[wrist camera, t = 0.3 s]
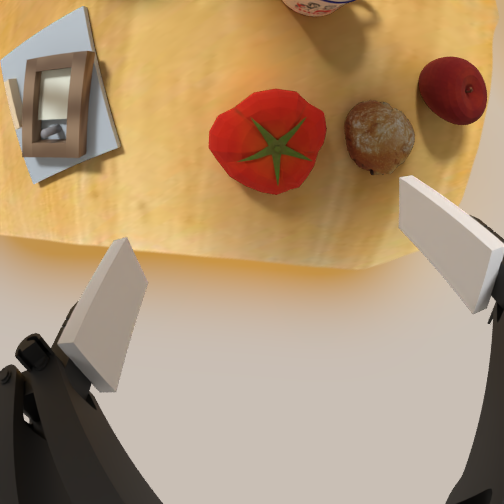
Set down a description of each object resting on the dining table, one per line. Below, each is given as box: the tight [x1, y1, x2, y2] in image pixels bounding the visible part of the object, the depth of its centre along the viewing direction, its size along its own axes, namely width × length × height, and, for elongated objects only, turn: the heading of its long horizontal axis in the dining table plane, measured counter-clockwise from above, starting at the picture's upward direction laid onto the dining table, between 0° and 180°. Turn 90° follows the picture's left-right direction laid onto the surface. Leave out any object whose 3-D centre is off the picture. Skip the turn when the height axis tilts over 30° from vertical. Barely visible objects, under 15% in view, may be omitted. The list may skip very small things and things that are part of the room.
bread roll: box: [345, 101, 415, 175], centre depth 35 cm, size 10×10×8 cm
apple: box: [419, 57, 487, 125], centre depth 28 cm, size 10×10×10 cm
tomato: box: [209, 89, 327, 195], centre depth 33 cm, size 14×13×9 cm
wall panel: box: [0, 6, 121, 184], centre depth 28 cm, size 22×16×5 cm
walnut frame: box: [22, 51, 95, 158], centre depth 29 cm, size 14×10×2 cm
